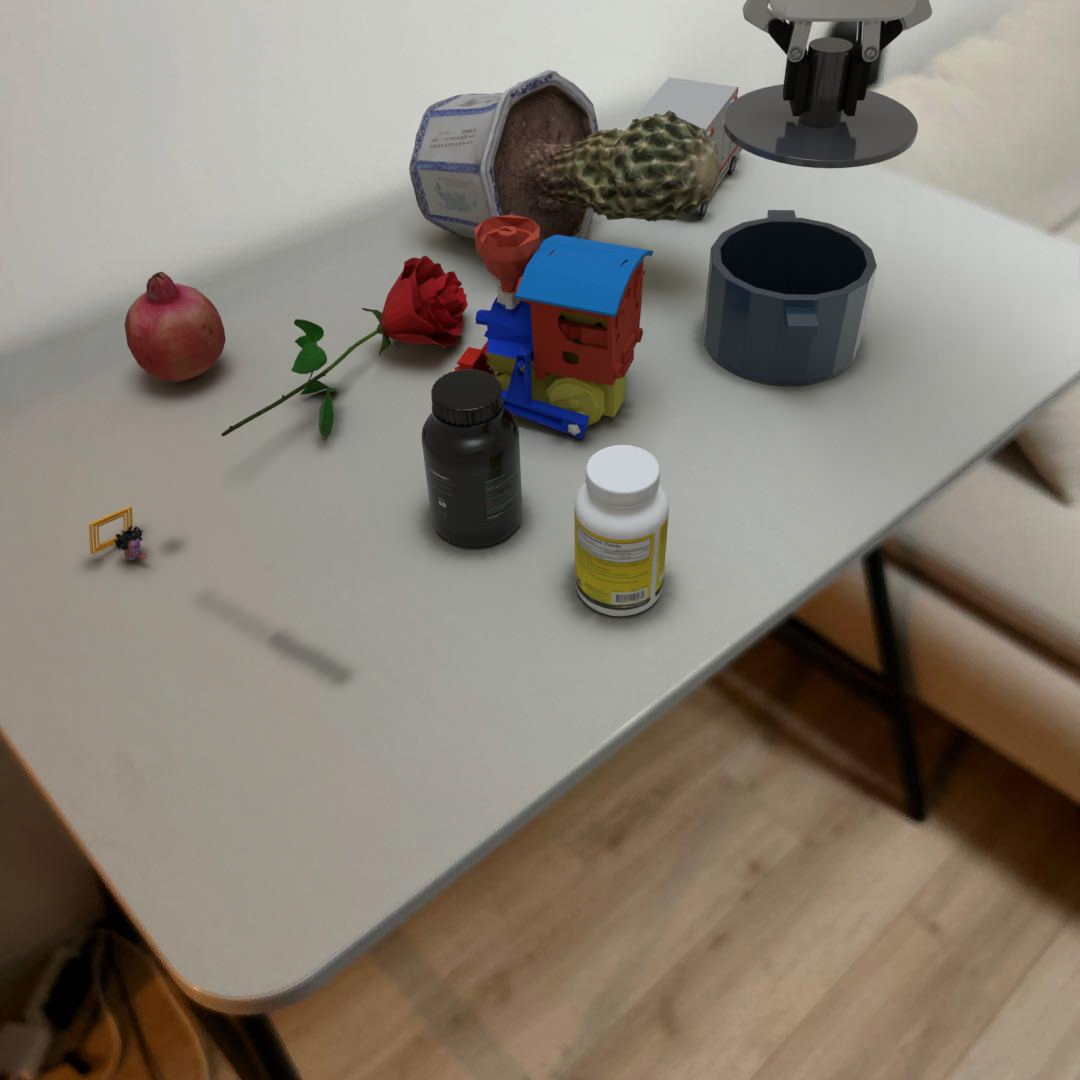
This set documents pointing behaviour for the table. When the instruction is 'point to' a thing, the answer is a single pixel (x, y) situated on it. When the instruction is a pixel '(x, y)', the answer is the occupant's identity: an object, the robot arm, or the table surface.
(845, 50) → the lid
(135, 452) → the table surface
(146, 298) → the fruit
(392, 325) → the flower
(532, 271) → the toy train
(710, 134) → the toy vehicle
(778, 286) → the pot
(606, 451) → the pill bottle
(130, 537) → the golden frame ornament
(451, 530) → the supplement bottle
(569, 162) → the potted plant
